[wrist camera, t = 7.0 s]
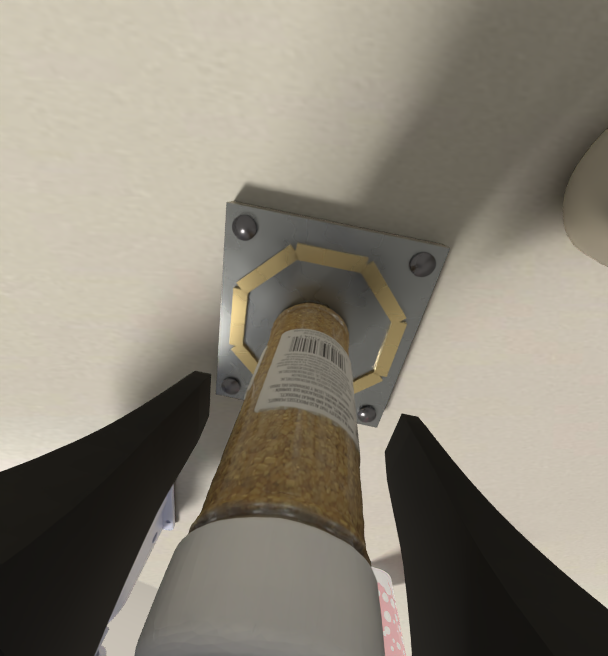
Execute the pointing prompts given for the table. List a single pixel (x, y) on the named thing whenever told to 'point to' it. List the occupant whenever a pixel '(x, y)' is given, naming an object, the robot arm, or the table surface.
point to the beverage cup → (389, 615)
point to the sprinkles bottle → (279, 517)
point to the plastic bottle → (589, 202)
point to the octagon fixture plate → (322, 294)
